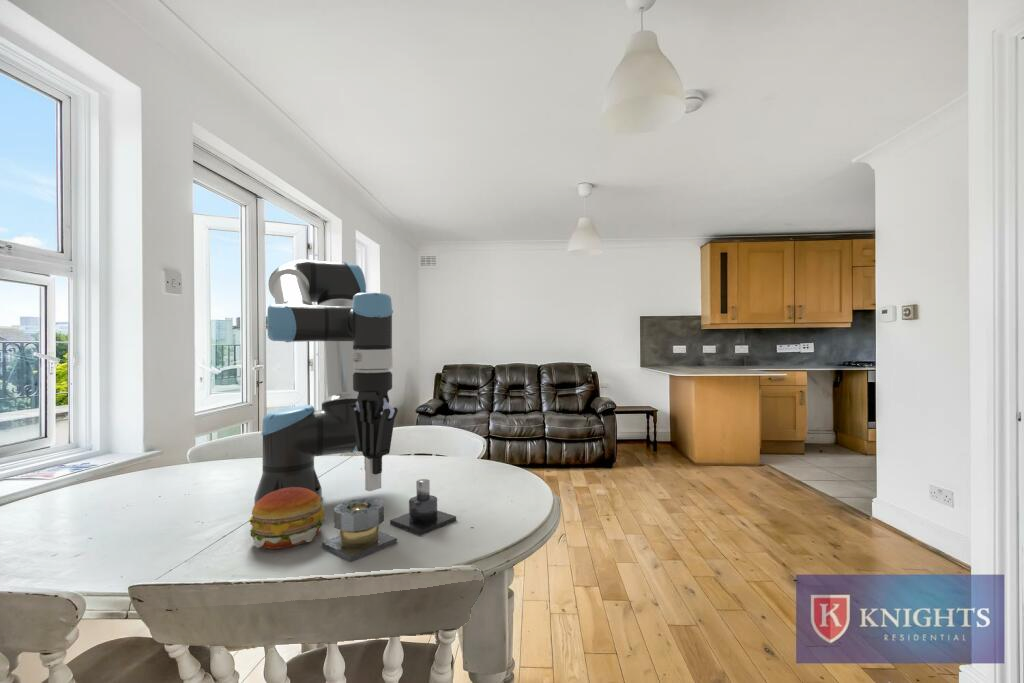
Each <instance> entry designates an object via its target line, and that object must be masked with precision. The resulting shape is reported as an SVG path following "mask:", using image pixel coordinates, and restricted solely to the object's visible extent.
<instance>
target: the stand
mask: <svg viewBox="0 0 1024 683" xmlns="http://www.w3.org/2000/svg"><path fill="white" fill-rule="evenodd" d="M430 481H431V480H430V479H426V478H422V479H421V478H420V479H417V480H416V481H415V482H416V496H413V497H410V499H409V500H408V501H409V502H408V513H405V514H402V515H400V516H397V517H394V518H391V519H389V525H390V526H393V527H396V528H399V529H402V530H404V531H406V532H410V533H412V534H414V535H418V536H420V537H421V536H424V535H425V534H428V533H430V532H433V531H435V530H438V529H440V528H443V527H445V526H448V525H450V524H452V523H455V522H457V516H456V515H453V514H450V513H447V512H443V511H441V510H438V497H436V495H431V493H430V488H431V487H430V485H431V484H430Z"/></svg>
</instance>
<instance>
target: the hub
mask: <svg viewBox="0 0 1024 683" xmlns="http://www.w3.org/2000/svg"><path fill="white" fill-rule="evenodd" d="M366 508H367V507H366V506H358V507H354V508H352V509H351V510H363V509H366ZM339 532H340V533H339V535H337V536H335V537H332V538H330V539H326V540H324V541H321V548H322V549H324V550H326V551H327V552H330V553H332V554H334V555H336V556H337V557H340V558H342V559H344V560H345V561H348V562H350V563H352V562H354V561H357V560H360V559H361V558H362V559H363V558H364V557H367V556H369V555H372V554H374V553H376V552H379V551H381V550H383V549H386V548H388V547H391V546H393V545H396V544H398V537H396V536H393V535H391V534H388V533H386V532H383V531H382V530H379V525H378V526H375V527H373V528H370V529H366V530H360V531H341V530H339Z"/></svg>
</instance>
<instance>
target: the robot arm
mask: <svg viewBox="0 0 1024 683" xmlns="http://www.w3.org/2000/svg"><path fill="white" fill-rule="evenodd" d="M268 290H269V292H270V294H271V296H272V297H273V299H274V302H275V304H274V303H272V304H270V305H269V306H267V316H266V318H267V327H266V328H267V337H268V338H267V339H269V340H270V341H272V342H285V343H291V342H294V343H295V342H297V343H298V342H299V343H300V342H324V349H325V350H324V351H325V371H326V372H325V374H326V390H327V392H326V393H327V394H326V395H327V396H326V398H325V399H324V400H323V402H321V409H317V410H315V408H314V406H313V405H312V404H311V405H310V404H305V405H296V406H295V405H293V406H290V407H289V406H288V407H285V408H279V409H277V410H273V411H270V412H268V413H267V414H266V415H264V417H263V419H262V427H261V428H262V429H261V430H262V431H261V433H260V434H261V436H262V463H261V464H262V475H261V477H260V480H259V483H258V485H257V489H256V492H255V495H254V502H253V503H254V505H255V504H256V503H257V501H259V500H260V499H261V498H262V497H264V496H265V495H267V494H269V493H270V492H273V491H276V490H279V489H283V488H289V487H301V488H306V489H309V490H311V491H313V492H316V494H317V495H318V496H319V497H320V498H321V499H322V498H323V496H322V495H323V493H322V492H323V490H322V486H321V483H320V481H319V478H318V475H317V471H316V469H315V457H321V456H330V455H339V454H346V453H347V454H348V453H351V454H354V452H355V453H356V452H358V453H360V452H361V453H362V456H363V457H364V473H365V474H364V477H365V478H364V482H365V484H364V485H365V486H364V489H365V490H364V491H367V492H374V491H376V490H379V489H382V473H383V457H384V456H386V455H390V453H391V446H392V444H391V443H392V438H393V431H394V425H395V419H396V417H397V415H398V412H399V410H398V408H397V407H396V406H395V407H392V405H391V404H390V398H389V395H388V394H389V393H388V392H389V391H391V390H392V389H393V373H392V371H390V370H392V369H393V349H392V348H393V314H394V312H393V311H394V310H393V304H392V297H391V296H390V295H389V294H387V293H382V292H380V293H379V292H367V285H366V278H365V274H364V272H363V269H362V268H361V267H360V266H359V265H358V264H356V263H350V262H349V263H348V262H345V261H342V262H338V261H337V262H336V261H325V260H324V261H322V260H321V261H320V260H309V259H297V260H292V261H289V262H286V263H283V264H282V265H280V266H278V267H277V268H276V269H275V270H274V271H273V272H272V273H271V274H270V276H269V279H268ZM313 303H317V304H316V305H313ZM254 505H253V506H254Z"/></svg>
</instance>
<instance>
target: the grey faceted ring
mask: <svg viewBox="0 0 1024 683" xmlns="http://www.w3.org/2000/svg"><path fill="white" fill-rule="evenodd" d="M358 506H366V507H367V508H366V509H363V510H351V509H352V508H354V507H358ZM333 513H334V514H333V516H334V518H333V519H334V520H333V521H334V522H333V523H334V524H333V525H334V527H333V528H334V529H336V530H339V531H340V530H341V531H360V530H366V529H370V528H373V527H375V526H378V527H379V525H381V524H382V523H383V522H384V521H385V504H384V501H383V500H380V499H378V498H365V497H364V498H357V499H350V500H348V501H346V500H345V501H343V502H341V503H339V504H338V505H335V506H334V507H333Z"/></svg>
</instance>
